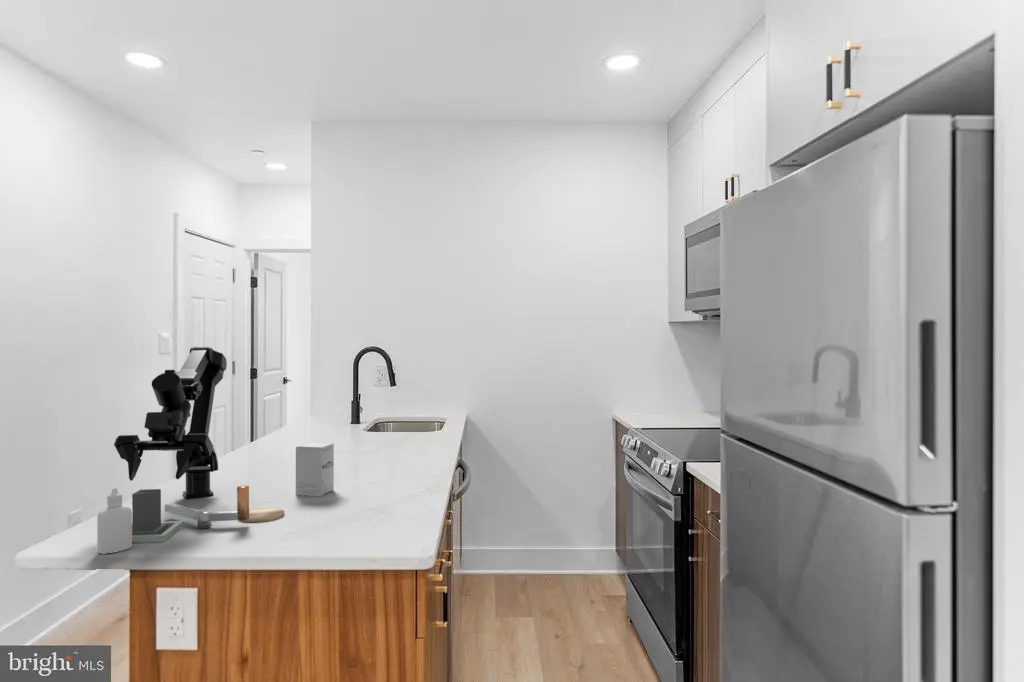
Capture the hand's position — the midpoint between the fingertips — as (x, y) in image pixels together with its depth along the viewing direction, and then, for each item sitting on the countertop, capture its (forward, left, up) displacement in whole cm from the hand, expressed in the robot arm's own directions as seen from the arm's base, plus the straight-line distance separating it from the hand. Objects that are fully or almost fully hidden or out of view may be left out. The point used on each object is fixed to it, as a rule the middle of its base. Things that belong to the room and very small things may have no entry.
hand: (153, 478), depth 142 cm
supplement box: (-15, +38, -11) cm, 43 cm away
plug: (+3, -2, -11) cm, 11 cm away
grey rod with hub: (0, +10, -11) cm, 15 cm away
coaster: (+1, +21, -11) cm, 24 cm away
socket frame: (+3, -2, -11) cm, 11 cm away
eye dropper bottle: (+11, -8, -11) cm, 18 cm away
